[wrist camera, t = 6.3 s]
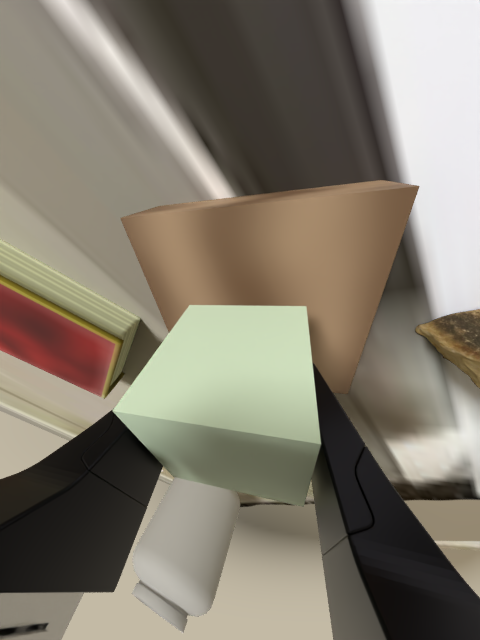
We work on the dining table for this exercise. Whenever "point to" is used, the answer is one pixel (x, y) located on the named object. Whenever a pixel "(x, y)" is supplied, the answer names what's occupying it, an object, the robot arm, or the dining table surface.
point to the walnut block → (281, 259)
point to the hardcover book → (61, 324)
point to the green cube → (231, 401)
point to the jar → (185, 550)
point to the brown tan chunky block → (457, 340)
